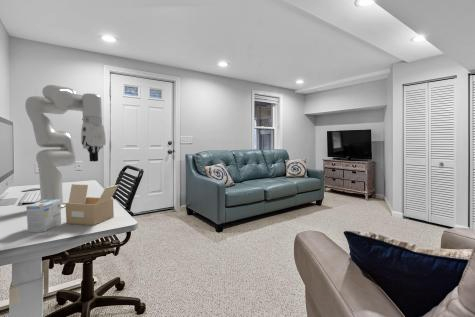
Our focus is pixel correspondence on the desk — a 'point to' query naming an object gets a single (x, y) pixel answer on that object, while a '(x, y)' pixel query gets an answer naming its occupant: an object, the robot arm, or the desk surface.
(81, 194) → the flap
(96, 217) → the carton
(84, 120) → the robot arm
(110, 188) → the flap
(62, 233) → the desk surface
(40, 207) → the light bulb box
